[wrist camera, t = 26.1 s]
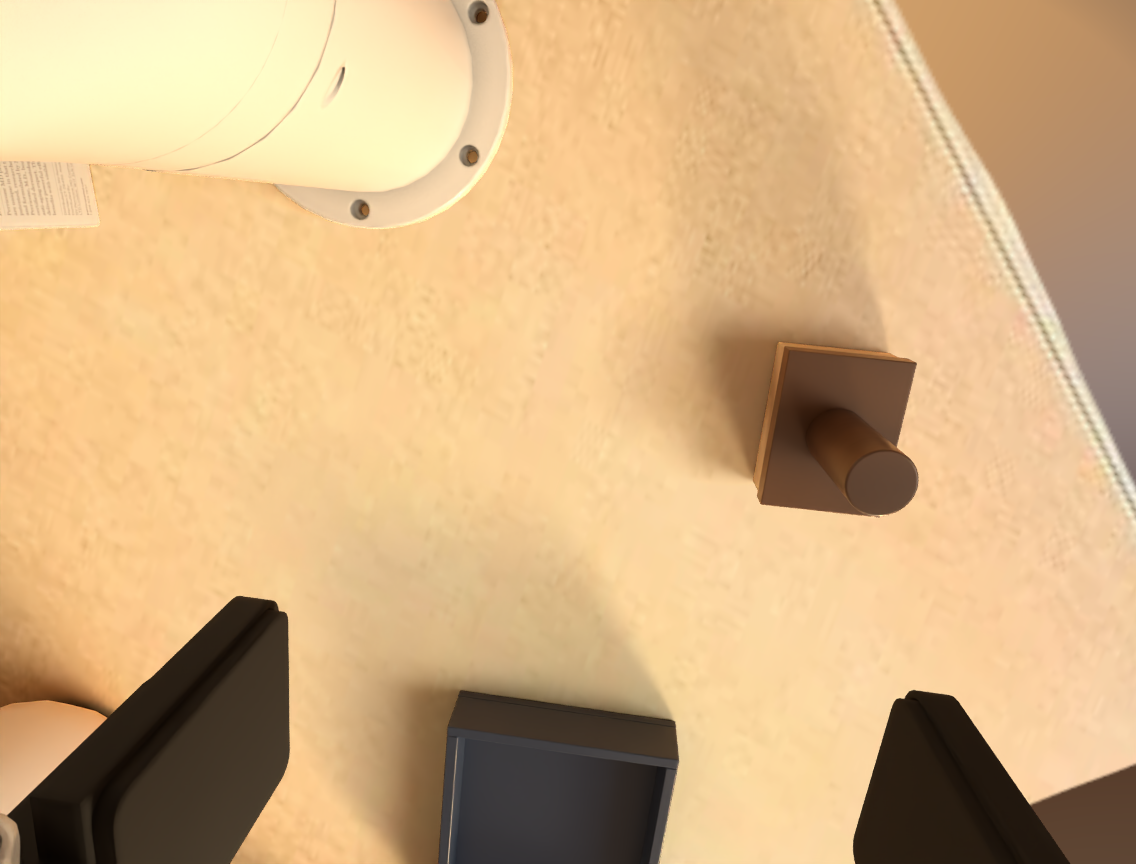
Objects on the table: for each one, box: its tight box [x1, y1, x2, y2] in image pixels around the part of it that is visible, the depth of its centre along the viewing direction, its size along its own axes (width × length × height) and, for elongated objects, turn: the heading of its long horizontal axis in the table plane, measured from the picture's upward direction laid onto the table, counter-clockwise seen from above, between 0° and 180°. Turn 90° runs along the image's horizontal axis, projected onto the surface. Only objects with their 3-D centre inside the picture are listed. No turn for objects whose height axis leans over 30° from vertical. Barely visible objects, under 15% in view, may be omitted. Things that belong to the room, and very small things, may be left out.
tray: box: [438, 691, 679, 864], centre depth 41 cm, size 16×12×3 cm
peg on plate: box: [753, 342, 918, 518], centre depth 30 cm, size 7×5×9 cm
